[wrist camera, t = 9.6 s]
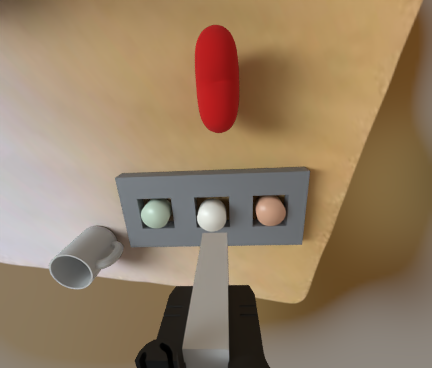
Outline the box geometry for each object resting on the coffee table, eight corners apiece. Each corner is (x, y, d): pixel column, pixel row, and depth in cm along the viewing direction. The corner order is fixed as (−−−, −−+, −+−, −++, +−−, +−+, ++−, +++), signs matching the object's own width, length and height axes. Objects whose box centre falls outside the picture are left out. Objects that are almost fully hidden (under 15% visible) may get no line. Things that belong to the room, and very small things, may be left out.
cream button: (200, 222, 39) (198, 231, 36) (198, 198, 37) (195, 206, 34) (226, 222, 38) (226, 231, 36) (225, 197, 37) (225, 205, 34)
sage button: (149, 220, 40) (143, 228, 38) (145, 197, 39) (138, 204, 36) (173, 219, 40) (170, 228, 37) (170, 196, 39) (166, 203, 36)
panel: (136, 239, 43) (130, 247, 40) (121, 173, 38) (114, 177, 35) (297, 236, 41) (301, 244, 38) (304, 166, 36) (310, 171, 34)
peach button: (254, 217, 39) (256, 226, 37) (254, 194, 38) (257, 201, 35) (280, 217, 39) (284, 225, 36) (282, 193, 37) (286, 200, 35)
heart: (237, 126, 34) (242, 134, 25) (204, 128, 34) (196, 137, 25) (236, 41, 30) (240, 13, 21) (198, 44, 30) (186, 17, 21)
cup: (78, 225, 42) (42, 255, 34) (127, 223, 41) (102, 253, 33) (89, 255, 45) (57, 289, 36) (134, 253, 44) (113, 288, 36)
